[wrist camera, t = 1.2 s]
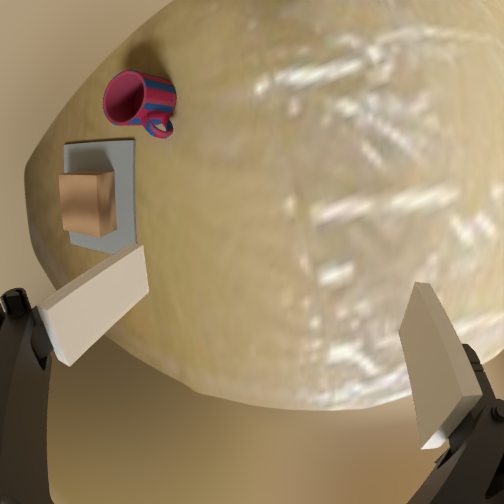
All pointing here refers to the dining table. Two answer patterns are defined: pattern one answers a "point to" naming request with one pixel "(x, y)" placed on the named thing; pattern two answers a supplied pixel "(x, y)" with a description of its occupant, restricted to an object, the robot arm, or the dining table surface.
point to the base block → (88, 202)
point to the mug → (140, 101)
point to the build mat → (122, 162)
